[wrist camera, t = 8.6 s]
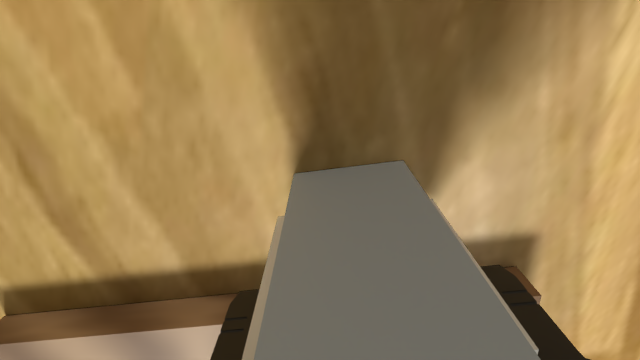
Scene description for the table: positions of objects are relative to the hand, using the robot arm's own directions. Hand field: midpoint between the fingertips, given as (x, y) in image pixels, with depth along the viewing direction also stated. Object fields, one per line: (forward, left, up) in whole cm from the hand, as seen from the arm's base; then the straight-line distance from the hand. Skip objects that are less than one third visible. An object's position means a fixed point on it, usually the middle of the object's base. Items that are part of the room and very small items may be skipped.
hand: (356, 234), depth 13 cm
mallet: (0, -6, -2) cm, 6 cm away
